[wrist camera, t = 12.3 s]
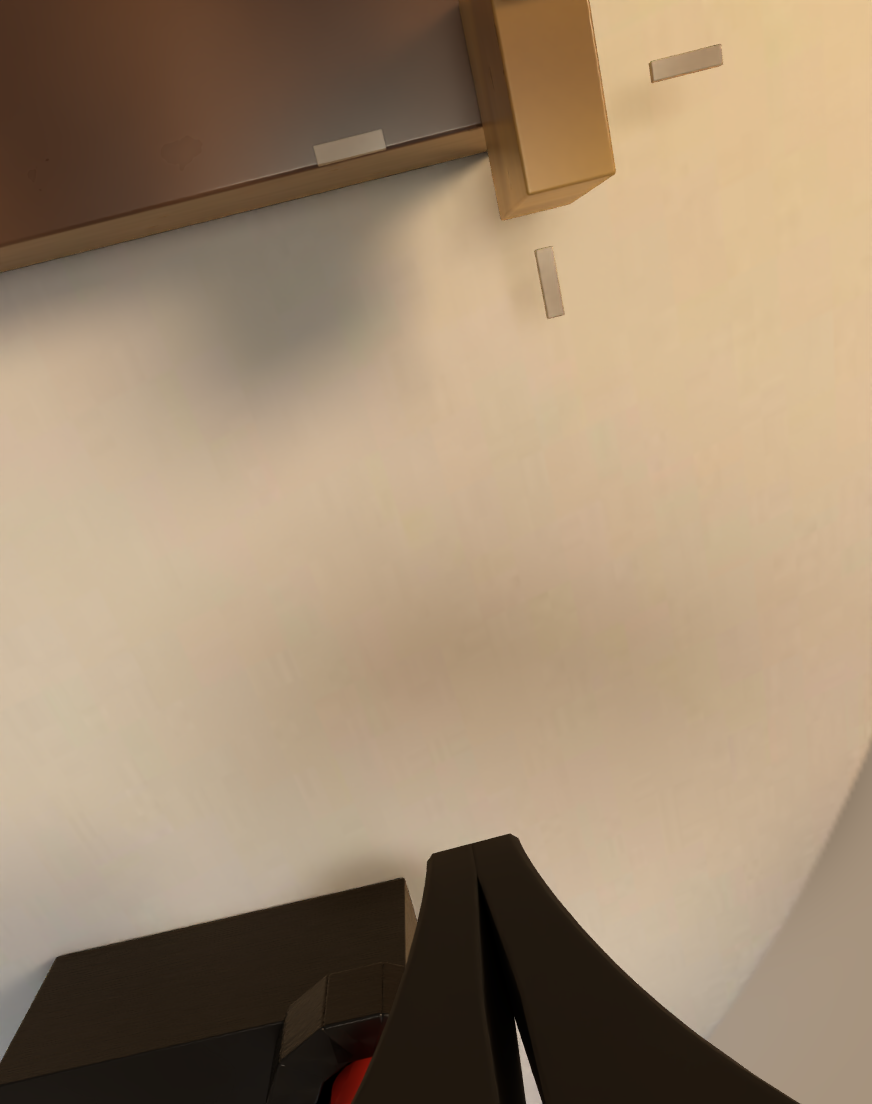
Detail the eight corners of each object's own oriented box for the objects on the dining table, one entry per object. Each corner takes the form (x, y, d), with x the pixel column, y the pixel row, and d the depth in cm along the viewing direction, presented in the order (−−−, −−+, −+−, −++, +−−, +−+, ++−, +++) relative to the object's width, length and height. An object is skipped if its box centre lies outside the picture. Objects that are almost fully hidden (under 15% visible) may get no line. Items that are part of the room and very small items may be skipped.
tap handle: (572, 203, 16) (620, 172, 13) (500, 221, 16) (529, 194, 13) (534, -18, 15) (576, -122, 12) (457, 1, 15) (476, -96, 12)
